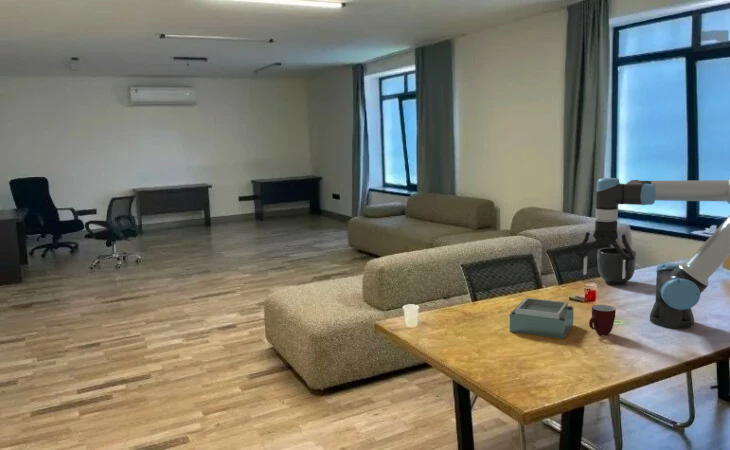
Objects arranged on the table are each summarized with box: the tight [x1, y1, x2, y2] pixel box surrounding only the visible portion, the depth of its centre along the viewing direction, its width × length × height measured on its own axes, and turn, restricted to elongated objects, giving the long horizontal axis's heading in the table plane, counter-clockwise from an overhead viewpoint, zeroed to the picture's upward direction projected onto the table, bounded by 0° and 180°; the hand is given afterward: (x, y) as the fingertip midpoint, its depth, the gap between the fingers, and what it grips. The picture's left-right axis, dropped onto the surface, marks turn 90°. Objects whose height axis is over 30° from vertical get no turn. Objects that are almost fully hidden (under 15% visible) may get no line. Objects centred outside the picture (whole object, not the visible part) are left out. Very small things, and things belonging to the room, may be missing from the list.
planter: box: [596, 247, 637, 286], centre depth 275 cm, size 17×17×16 cm
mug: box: [588, 304, 616, 337], centre depth 208 cm, size 11×8×10 cm
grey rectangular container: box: [509, 297, 575, 340], centre depth 218 cm, size 20×17×9 cm
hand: (604, 275), depth 213 cm, fingers open, 13 cm apart
